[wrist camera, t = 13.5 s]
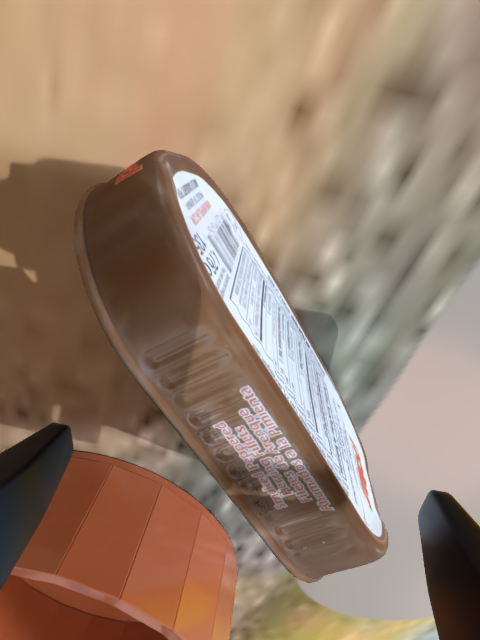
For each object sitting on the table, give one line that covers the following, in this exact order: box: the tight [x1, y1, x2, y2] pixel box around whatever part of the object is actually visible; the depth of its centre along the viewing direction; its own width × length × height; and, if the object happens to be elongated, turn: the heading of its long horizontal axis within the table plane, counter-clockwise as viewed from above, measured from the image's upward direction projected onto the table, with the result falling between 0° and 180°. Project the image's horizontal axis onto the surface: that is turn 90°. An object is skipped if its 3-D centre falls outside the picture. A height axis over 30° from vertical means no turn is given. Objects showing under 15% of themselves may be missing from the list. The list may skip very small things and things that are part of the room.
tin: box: [74, 150, 388, 583], centre depth 13 cm, size 15×3×8 cm, turn 30°
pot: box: [0, 451, 238, 640], centre depth 24 cm, size 19×19×6 cm
